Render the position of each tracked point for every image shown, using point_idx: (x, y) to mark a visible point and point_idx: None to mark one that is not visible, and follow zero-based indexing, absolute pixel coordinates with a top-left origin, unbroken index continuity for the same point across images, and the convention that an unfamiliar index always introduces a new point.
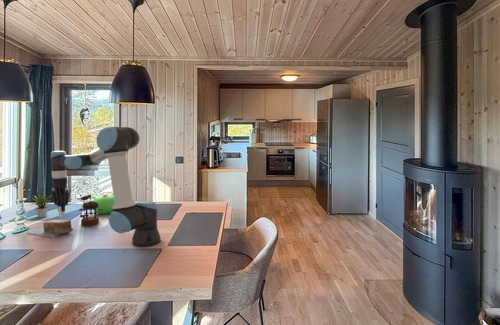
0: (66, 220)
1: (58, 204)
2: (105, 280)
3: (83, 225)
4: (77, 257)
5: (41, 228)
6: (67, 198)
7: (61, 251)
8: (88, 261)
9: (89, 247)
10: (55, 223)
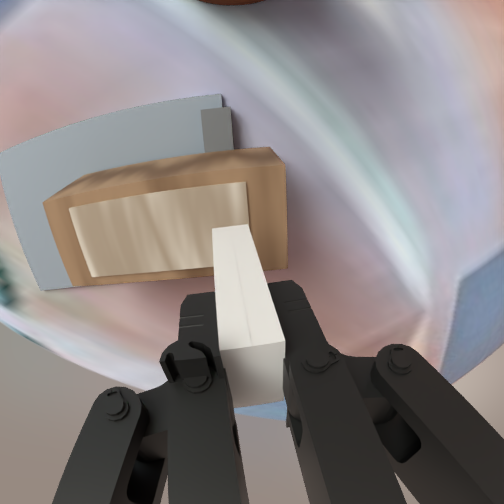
0: (247, 188)
1: (238, 437)
2: (500, 338)
3: (229, 3)
4: (452, 326)
5: (19, 206)
6: (488, 466)
7: (398, 333)
8: (476, 322)
9: (463, 269)
10: (202, 273)
